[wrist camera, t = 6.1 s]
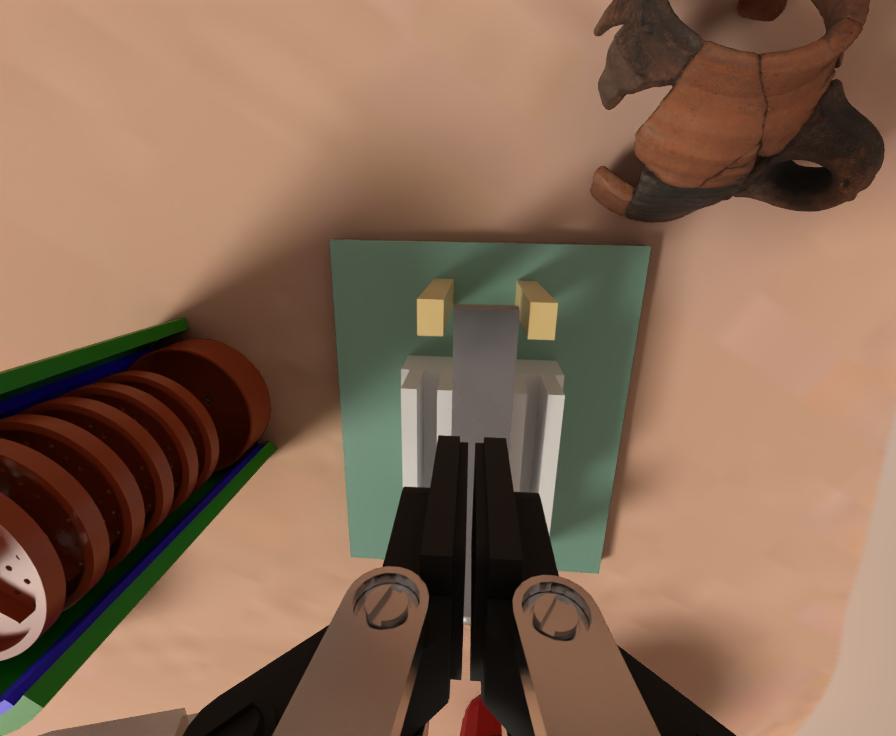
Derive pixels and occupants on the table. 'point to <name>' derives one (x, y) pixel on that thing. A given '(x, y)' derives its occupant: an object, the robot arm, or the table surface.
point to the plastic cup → (479, 721)
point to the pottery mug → (735, 115)
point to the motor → (109, 490)
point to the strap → (482, 389)
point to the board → (486, 283)
